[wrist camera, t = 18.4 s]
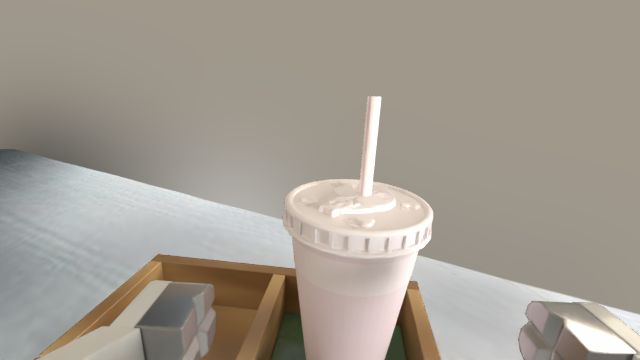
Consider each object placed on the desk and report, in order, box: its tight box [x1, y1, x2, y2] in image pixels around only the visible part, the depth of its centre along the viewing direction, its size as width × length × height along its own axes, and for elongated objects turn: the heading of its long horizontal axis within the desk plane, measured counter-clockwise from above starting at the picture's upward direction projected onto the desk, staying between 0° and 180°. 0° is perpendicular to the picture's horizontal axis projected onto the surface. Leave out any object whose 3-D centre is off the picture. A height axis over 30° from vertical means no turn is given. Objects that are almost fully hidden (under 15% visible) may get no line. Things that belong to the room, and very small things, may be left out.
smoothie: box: [283, 96, 433, 360], centre depth 14 cm, size 6×6×14 cm
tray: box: [34, 254, 441, 360], centre depth 16 cm, size 9×17×4 cm, turn 83°
